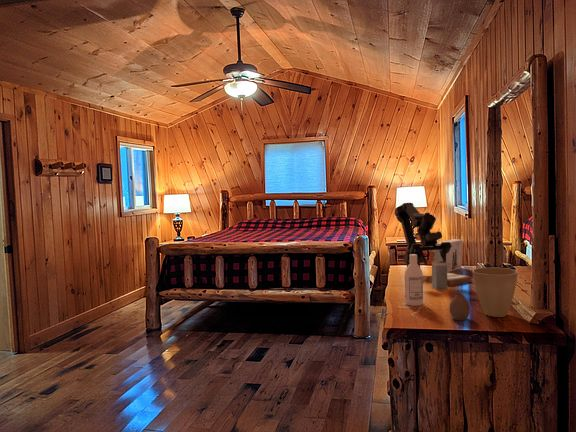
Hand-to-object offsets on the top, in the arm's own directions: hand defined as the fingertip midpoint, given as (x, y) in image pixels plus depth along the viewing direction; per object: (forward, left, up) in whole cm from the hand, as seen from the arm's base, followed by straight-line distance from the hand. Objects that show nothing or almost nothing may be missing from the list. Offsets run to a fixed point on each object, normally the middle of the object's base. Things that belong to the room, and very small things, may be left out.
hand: (435, 263), depth 218 cm
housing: (+4, -2, -11) cm, 12 cm away
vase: (+40, -32, -11) cm, 52 cm away
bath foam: (+16, -30, -11) cm, 35 cm away
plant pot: (+44, -18, -11) cm, 48 cm away
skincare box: (-22, +33, -11) cm, 41 cm away
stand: (-3, +12, -11) cm, 17 cm away
